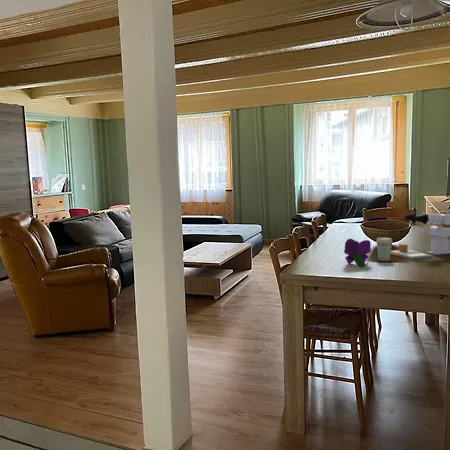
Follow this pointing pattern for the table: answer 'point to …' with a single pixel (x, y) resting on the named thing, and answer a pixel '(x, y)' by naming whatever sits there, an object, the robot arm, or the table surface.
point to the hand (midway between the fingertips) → (409, 218)
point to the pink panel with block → (402, 249)
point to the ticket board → (414, 255)
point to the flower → (357, 251)
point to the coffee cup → (384, 248)
